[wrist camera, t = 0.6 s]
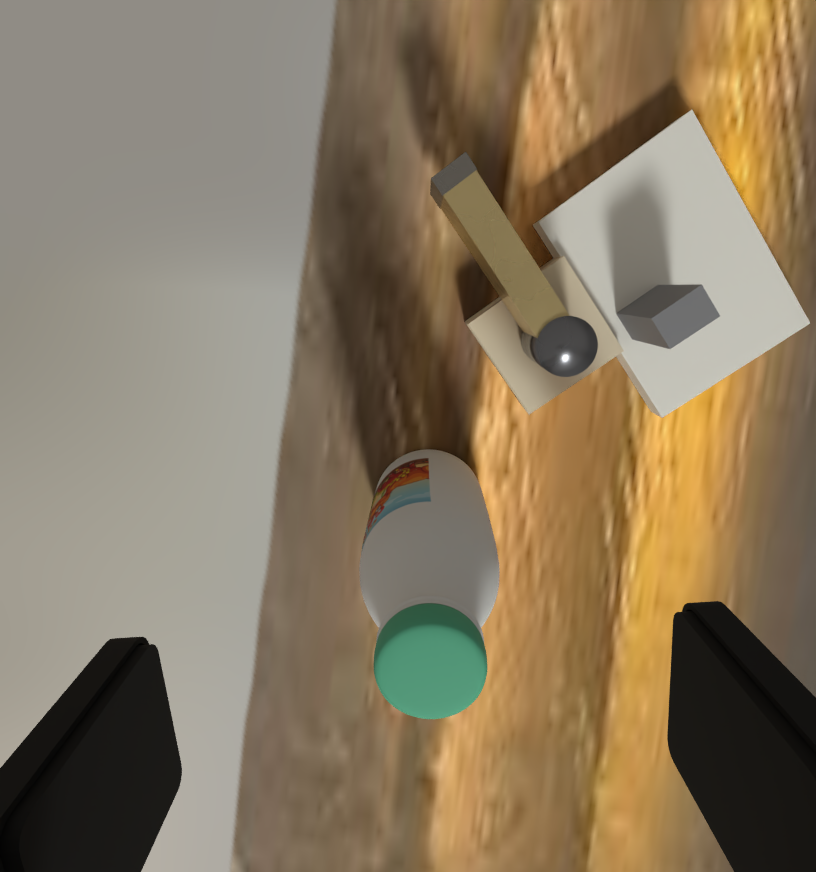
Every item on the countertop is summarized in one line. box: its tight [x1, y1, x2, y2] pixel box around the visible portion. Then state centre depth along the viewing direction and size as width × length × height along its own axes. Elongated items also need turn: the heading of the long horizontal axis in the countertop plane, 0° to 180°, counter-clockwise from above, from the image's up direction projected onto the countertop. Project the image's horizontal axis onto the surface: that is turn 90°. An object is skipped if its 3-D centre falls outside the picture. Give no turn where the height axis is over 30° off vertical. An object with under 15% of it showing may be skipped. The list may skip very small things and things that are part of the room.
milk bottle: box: [360, 449, 499, 719], centre depth 33 cm, size 8×8×20 cm
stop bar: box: [430, 152, 598, 377], centre depth 33 cm, size 13×3×5 cm, turn 36°
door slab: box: [533, 110, 810, 418], centre depth 34 cm, size 10×15×8 cm
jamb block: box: [465, 256, 624, 414], centre depth 38 cm, size 7×7×3 cm
